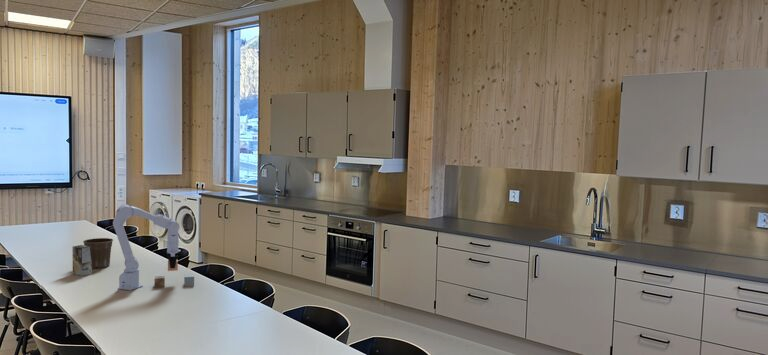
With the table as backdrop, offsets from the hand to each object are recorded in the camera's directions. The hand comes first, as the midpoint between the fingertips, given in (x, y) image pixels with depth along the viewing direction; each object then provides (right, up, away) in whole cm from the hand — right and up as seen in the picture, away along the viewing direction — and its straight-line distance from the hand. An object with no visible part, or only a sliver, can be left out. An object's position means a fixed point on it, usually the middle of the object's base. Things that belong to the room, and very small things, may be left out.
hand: (172, 266), depth 302 cm
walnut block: (-5, -10, -5) cm, 12 cm away
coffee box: (-58, -7, +15) cm, 60 cm away
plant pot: (-59, -5, +34) cm, 68 cm away
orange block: (0, -2, 0) cm, 2 cm away
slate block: (+9, -10, 0) cm, 13 cm away
